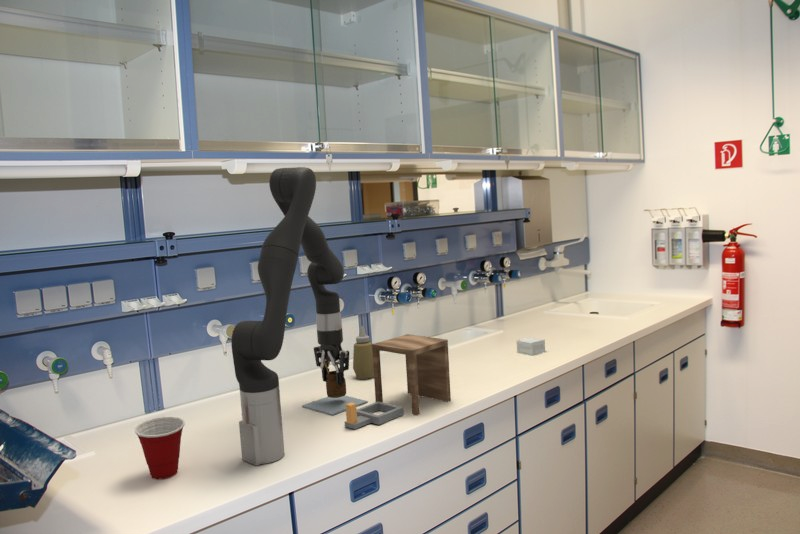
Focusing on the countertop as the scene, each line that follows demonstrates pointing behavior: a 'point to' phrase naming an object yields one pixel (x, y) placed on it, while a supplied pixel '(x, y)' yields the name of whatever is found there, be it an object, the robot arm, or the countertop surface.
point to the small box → (530, 346)
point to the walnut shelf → (417, 367)
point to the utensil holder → (334, 385)
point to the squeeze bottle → (363, 356)
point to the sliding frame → (365, 417)
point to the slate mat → (333, 404)
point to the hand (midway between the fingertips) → (333, 382)
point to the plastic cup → (161, 445)
